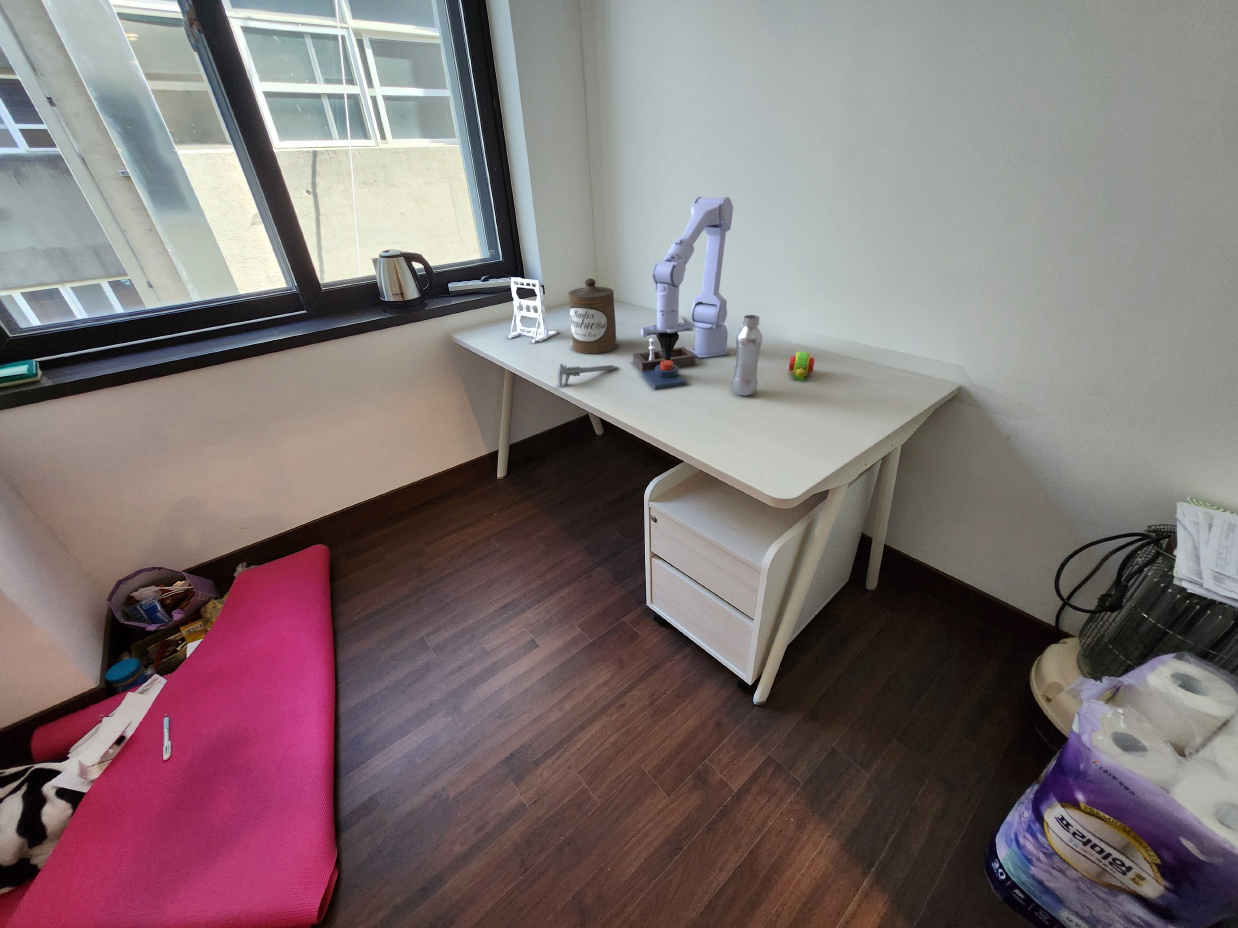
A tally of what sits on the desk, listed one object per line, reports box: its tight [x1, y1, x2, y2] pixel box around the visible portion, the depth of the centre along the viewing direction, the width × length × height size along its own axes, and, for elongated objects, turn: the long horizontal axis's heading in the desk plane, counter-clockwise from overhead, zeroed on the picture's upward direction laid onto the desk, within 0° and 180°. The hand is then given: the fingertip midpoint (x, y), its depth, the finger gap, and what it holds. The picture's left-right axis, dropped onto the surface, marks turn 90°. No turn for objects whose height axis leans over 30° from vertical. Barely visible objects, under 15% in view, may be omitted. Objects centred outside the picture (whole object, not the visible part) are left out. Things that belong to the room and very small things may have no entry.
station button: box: [660, 360, 673, 371], centre depth 136 cm, size 4×4×2 cm
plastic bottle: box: [731, 314, 764, 397], centre depth 121 cm, size 6×7×20 cm
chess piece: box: [648, 335, 656, 360], centre depth 144 cm, size 5×5×10 cm
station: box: [641, 364, 687, 390], centre depth 136 cm, size 9×11×3 cm
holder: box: [632, 346, 696, 373], centre depth 146 cm, size 17×9×3 cm, turn 106°
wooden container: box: [567, 277, 617, 355], centre depth 158 cm, size 15×15×22 cm
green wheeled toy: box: [788, 351, 815, 381], centre depth 137 cm, size 6×19×7 cm, turn 160°
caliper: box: [556, 363, 618, 387], centre depth 139 cm, size 20×1×6 cm, turn 129°
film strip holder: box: [508, 276, 558, 344], centre depth 171 cm, size 14×14×20 cm
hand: (666, 358), depth 135 cm, fingers closed
